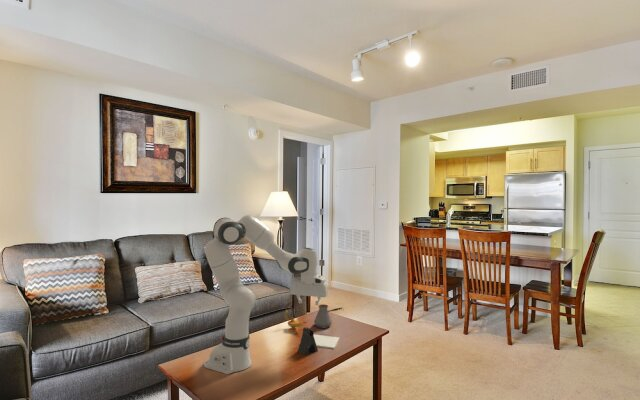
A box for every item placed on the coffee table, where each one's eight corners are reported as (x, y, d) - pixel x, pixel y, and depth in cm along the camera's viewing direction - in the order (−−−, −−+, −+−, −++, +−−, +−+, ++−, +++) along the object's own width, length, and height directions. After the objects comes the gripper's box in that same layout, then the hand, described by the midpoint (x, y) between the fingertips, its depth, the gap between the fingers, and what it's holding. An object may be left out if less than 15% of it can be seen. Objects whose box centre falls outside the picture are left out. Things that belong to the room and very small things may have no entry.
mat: (299, 344, 187) (299, 342, 187) (306, 334, 201) (306, 333, 201) (334, 348, 182) (334, 347, 182) (339, 338, 196) (339, 337, 196)
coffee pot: (310, 326, 215) (310, 302, 215) (321, 321, 224) (322, 298, 224) (336, 334, 201) (337, 310, 201) (347, 329, 210) (348, 305, 210)
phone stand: (303, 355, 174) (304, 332, 174) (297, 351, 178) (298, 328, 178) (317, 351, 179) (318, 328, 179) (311, 347, 184) (311, 325, 184)
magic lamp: (303, 335, 200) (303, 316, 200) (281, 328, 210) (281, 310, 211) (310, 331, 205) (310, 313, 205) (288, 325, 216) (288, 308, 216)
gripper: (288, 277, 178) (288, 303, 178) (325, 280, 173) (325, 307, 173) (292, 275, 185) (292, 300, 185) (328, 278, 179) (328, 303, 179)
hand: (308, 303), depth 179 cm, fingers open, 8 cm apart
